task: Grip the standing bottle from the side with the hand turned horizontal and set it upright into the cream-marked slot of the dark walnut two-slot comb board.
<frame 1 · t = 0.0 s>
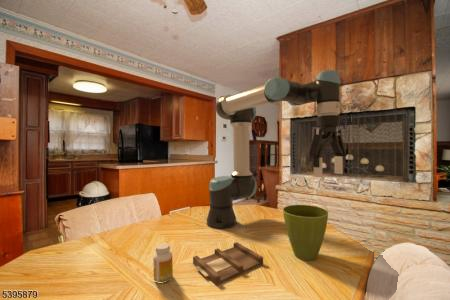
hand: (328, 175, 77), 28 cm above the table, tool pointing down, fingers open, 13 cm apart
flower pot: (305, 256, 76), on the table
slot board: (227, 263, 71), on the table
supplement bottle: (163, 279, 64), on the table
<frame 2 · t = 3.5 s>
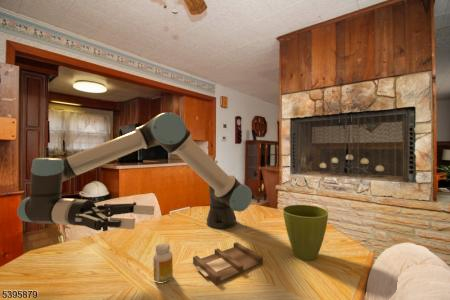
hand: (145, 216, 64), 18 cm above the table, tool horizontal, fingers open, 13 cm apart
nothing on the table moved.
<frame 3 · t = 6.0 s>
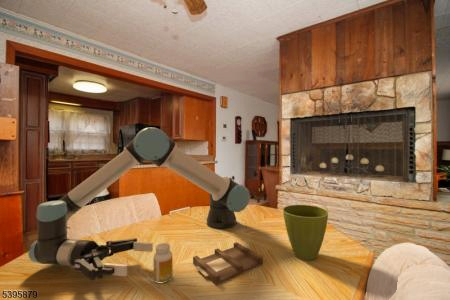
hand: (140, 257, 64), 6 cm above the table, tool horizontal, fingers open, 13 cm apart
nothing on the table moved.
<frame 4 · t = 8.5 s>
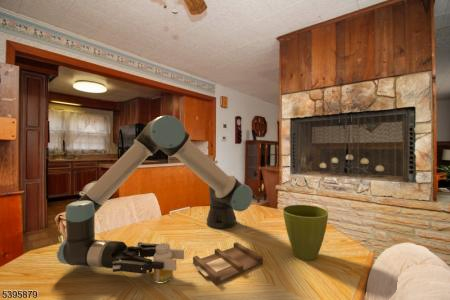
hand: (179, 259, 63), 6 cm above the table, tool horizontal, fingers closed on supplement bottle, 5 cm apart
supplement bottle: (163, 279, 64), on the table, touching gripper
everything else where it was.
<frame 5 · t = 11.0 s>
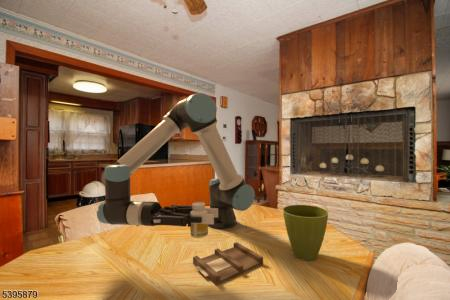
hand: (215, 216, 66), 18 cm above the table, tool horizontal, fingers closed on supplement bottle, 5 cm apart
supplement bottle: (199, 235, 67), point 11 cm above the table, touching gripper
everything else where it was.
when the fingers open (8 cm above the table, at t = 13.5 s): supplement bottle drops 1 cm, resting on slot board.
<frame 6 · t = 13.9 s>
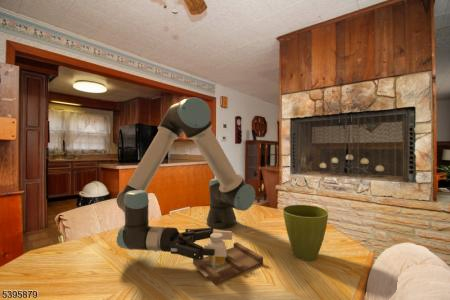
hand: (229, 243, 68), 8 cm above the table, tool horizontal, fingers open, 11 cm apart
supplement bottle: (216, 265, 69), point 1 cm above the table, touching slot board
everything else where it was.
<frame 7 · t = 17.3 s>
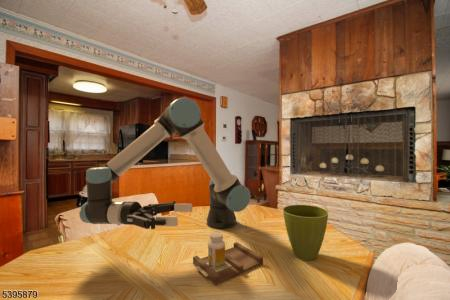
hand: (185, 213, 70), 17 cm above the table, tool horizontal, fingers open, 13 cm apart
nothing on the table moved.
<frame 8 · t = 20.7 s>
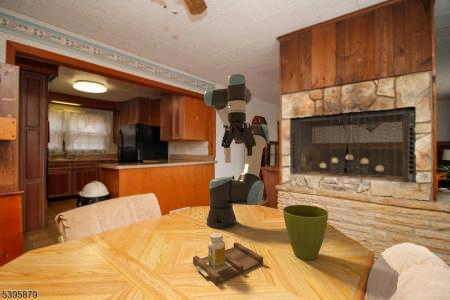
hand: (237, 163, 90), 32 cm above the table, tool pointing down, fingers open, 13 cm apart
nothing on the table moved.
at the end: supplement bottle inside the target area on the slot board (0.2 cm from its centre), point 0.8 cm above the slot board's base; supplement bottle tilted 0°; the gripper is holding nothing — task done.
